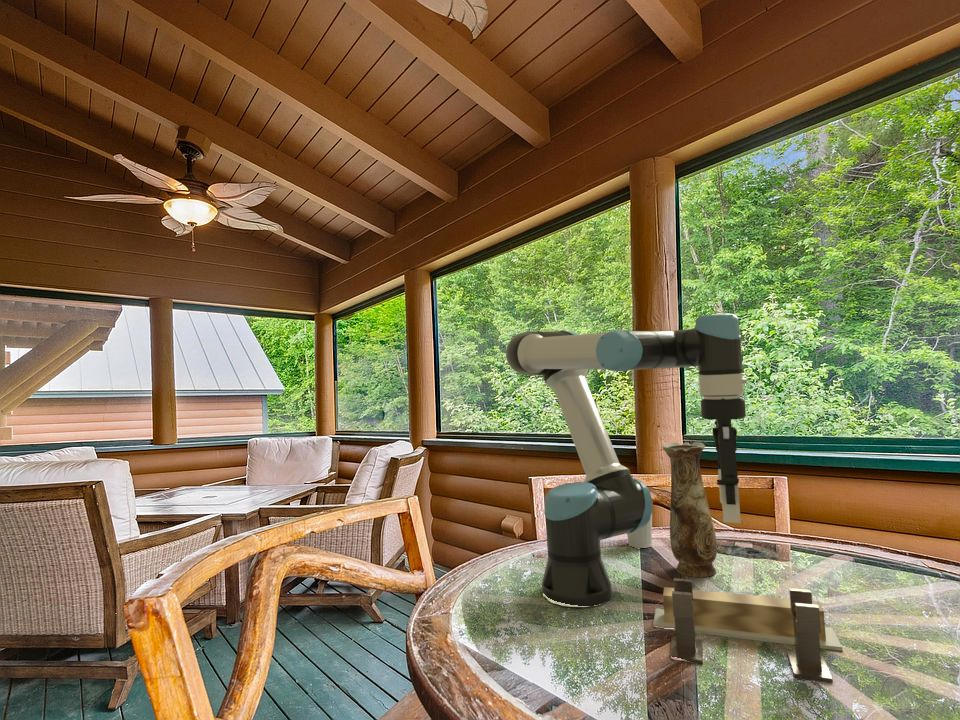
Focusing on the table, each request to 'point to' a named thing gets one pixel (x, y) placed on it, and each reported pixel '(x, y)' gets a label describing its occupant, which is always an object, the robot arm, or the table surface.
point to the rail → (741, 612)
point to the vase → (690, 512)
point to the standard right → (806, 638)
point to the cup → (641, 536)
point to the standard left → (685, 624)
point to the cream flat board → (751, 633)
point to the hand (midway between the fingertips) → (729, 512)
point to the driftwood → (748, 552)
